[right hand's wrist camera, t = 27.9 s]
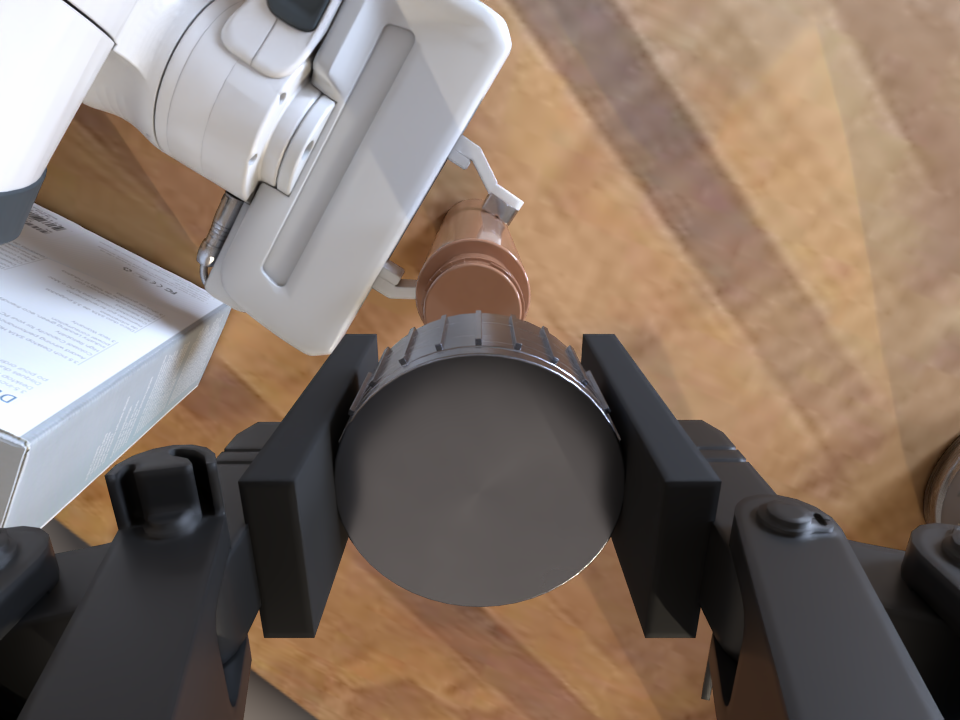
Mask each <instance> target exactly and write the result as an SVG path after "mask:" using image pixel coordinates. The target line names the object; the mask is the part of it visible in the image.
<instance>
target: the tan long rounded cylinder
mask: <svg viewBox="0 0 960 720" xmlns="http://www.w3.org/2000/svg"><path fill="white" fill-rule="evenodd" d="M483 202H484V200H480V199H468V200H464V201H461V202H459V203H457V204H456V205H454V206H453V207H452V208H451V209H450V210H449V211H448V212H447V214H446V215H445V217H444V219H443V222H442V224H441V226H440V228H439V231H438V233H437V235H436V237H435V240H434V242H433V244H432V246H431V249H430V251H429V253H428V255H427V258H426V260H425V262H424V265H423V267H422V269H421V271H420V274H419V276H418V280H417V283H416V291H415V298H416V306H417V309H418V313H419V315H420V317H421V320H422V321H423V323H424V325H426V324H428V323H430V322H433V321H436V320H439V319H441V316H442V315H446V314H447V317H450V316H455V315H460V314H470V313H476V310H481V313H490V314H499V315H505V316H510V315H511V314H513V315H516V318H517V319H520V320H523V321H524V320H525V318H526V315H527V313H528V310H529V305H530V296H531V293H530V285H529V280H528V277H527V274H526V271H525V269H524V266H523V264H522V261H521V259H520V256H519V254H518V251H517V249H516V246H515V244H514V241H513V239H512V236H511V234H510V231H509V229H508V226H507V225H506V224H505V223H503V222H502V221H500V220H499V218H498V216H497V215H491V214H489V213H488V212H486V211H485V210H483V209H482V204H483Z"/></svg>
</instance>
